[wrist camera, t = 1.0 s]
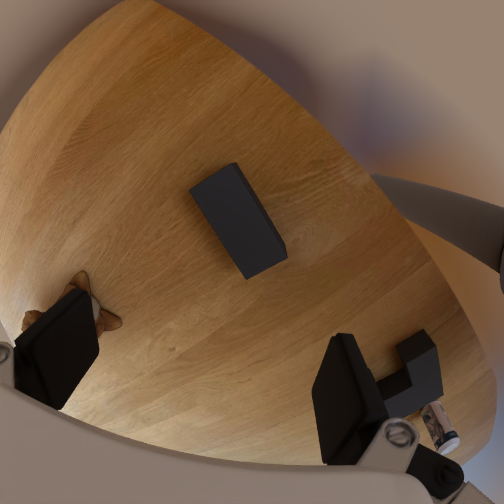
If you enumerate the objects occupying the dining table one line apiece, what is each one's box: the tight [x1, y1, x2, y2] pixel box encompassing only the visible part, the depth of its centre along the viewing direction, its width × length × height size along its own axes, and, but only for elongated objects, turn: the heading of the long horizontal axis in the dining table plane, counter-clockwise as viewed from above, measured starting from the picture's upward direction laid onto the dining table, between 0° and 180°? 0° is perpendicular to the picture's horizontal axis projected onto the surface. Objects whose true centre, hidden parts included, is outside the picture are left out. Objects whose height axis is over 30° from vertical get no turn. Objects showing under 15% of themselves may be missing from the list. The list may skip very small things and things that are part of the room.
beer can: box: [421, 401, 459, 455], centre depth 37 cm, size 5×5×12 cm
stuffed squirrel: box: [21, 271, 122, 338], centre depth 32 cm, size 10×14×13 cm
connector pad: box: [189, 163, 288, 280], centre depth 30 cm, size 5×11×4 cm, turn 31°
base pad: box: [376, 329, 444, 418], centre depth 38 cm, size 16×14×4 cm
